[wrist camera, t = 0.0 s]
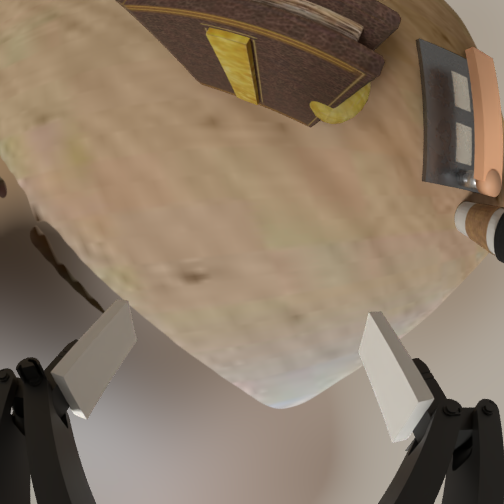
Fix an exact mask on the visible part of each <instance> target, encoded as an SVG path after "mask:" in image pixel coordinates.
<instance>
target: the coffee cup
mask: <svg viewBox="0 0 504 504" xmlns="http://www.w3.org/2000/svg"><path fill="white" fill-rule="evenodd" d="M455 225H456V227H457V229H458V231H460V232H461V233H463V234H464V235H466V236H467V237H469V238H470V239H472V240H473V241H474V242H476V243H477V244H479V245H480V246H481V247H483V248H484V249H486V250H487V251H488V252H490V253H491V254H493V255H496V257H497V259H498V260H499V261H501V262H503V263H504V207H498V206H492V205H486V204H479V203H472V202H463V203H461V204H460V205H459V206H458V208H457V210H456V213H455Z"/></svg>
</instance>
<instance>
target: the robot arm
mask: <svg viewBox="0 0 504 504" xmlns="http://www.w3.org/2000/svg"><path fill="white" fill-rule="evenodd" d="M136 341H137V338H136V334H135V329H134V325H133V321H132V316H131V311H130V306H129V301H127V300H116V301H115V302H114V303H113V304H112V305H111V306H110V308H108V309H107V310H106V311H105V312H104V313H103V315H102V316H101V317H100V318H99V319H98V320H97V321H96V322H95V323H94V324H93V325H92V326H91V327H90V329H88V330H87V332H86V333H85V334H84V335H83V336H82V337H81V338H80V339H79V340H74V341H72V342H71V343H69V344H68V345H67V346H66V347H65V348H64V349H63V350H62V351H61V352H60V353H59V355H58V356H57V357H56V358H55V359H54V360H53V361H52V362H51V363H50V365H49V366H48V367H47V368H46V369H45V370H43V368H42V366H41V365H40V362H39V361H38V360H37V359H36V358H33V357H32V358H26V359H23V360H22V361H20V362H19V363H18V365H17V367H16V370H17V372H18V374H19V376H20V377H21V378H17V377H16V376H15V374H14V372H13V371H12V370H11V369H8V368H7V369H2V370H0V504H30V474H31V478H32V483H33V488H34V492H35V496H36V500H37V504H96V502H95V500H94V497H93V495H92V492H91V490H90V487H89V485H88V482H87V479H86V476H85V473H84V470H83V467H82V464H81V461H80V458H79V454H78V451H77V447H76V444H75V440H74V437H73V432H72V428H71V424H70V419H69V415H68V413H67V410H68V408H69V407H70V408H71V410H72V411H73V413H74V414H75V415H77V416H79V417H82V418H84V419H88V417H89V415H90V414H91V412H92V410H93V409H94V407H95V405H96V404H97V402H98V400H99V399H100V397H101V396H102V394H103V392H104V391H105V389H106V388H107V386H108V384H109V383H110V381H111V379H112V378H113V376H114V375H115V373H116V372H117V370H118V369H119V367H120V365H121V364H122V362H123V361H124V359H125V358H126V356H127V355H128V353H129V352H130V350H131V349H132V347H133V346H134V344H135V342H136ZM358 353H359V355H360V358H361V360H362V363H363V365H364V368H365V370H366V373H367V375H368V378H369V380H370V383H371V385H372V388H373V391H374V393H375V396H376V399H377V401H378V404H379V407H380V409H381V412H382V415H383V418H384V421H385V423H386V426H387V429H388V432H389V435H390V438H391V441H392V443H393V442H398V441H402V440H406V439H408V437H409V436H410V435H411V433H412V432H413V433H414V435H415V439H414V440H413V441H412V443H411V444H410V445H409V447H408V448H407V449H406V451H408V452H407V454H406V456H405V458H404V460H403V462H402V464H401V466H400V468H399V470H398V471H397V473H396V475H395V477H394V479H393V480H392V482H391V484H390V485H389V487H388V489H387V491H386V492H385V494H384V495H383V497H382V498H381V500H380V502H379V503H378V504H434V502H435V499H436V497H437V495H438V493H439V490H440V488H441V485H442V483H443V480H444V478H445V475H446V480H445V487H444V494H443V499H442V504H504V447H503V437H502V428H501V421H500V415H499V409H498V407H497V405H496V404H495V403H494V402H493V401H491V400H489V399H482V400H481V401H479V403H478V404H477V405H476V407H475V408H462V407H461V405H460V404H459V403H458V402H457V401H454V400H452V399H447V398H446V396H445V395H444V393H443V391H442V390H441V388H440V387H439V385H438V383H437V381H436V380H435V379H434V376H433V375H432V373H430V370H429V368H428V367H427V365H426V364H425V363H424V362H422V361H421V360H420V359H419V358H415V359H411V357H410V355H409V354H408V352H407V351H406V349H405V347H404V346H403V345H402V343H401V341H400V339H399V338H398V336H397V335H396V333H395V332H394V330H393V329H392V327H391V326H390V324H389V322H388V321H387V319H386V318H385V316H384V315H383V313H382V312H369V313H368V317H367V321H366V325H365V329H364V333H363V337H362V340H361V344H360V347H359V351H358ZM11 409H12V410H13V414H12V415H11V414H10V413H11Z"/></svg>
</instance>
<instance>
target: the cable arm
mask: <svg viewBox="0 0 504 504" xmlns="http://www.w3.org/2000/svg"><path fill="white" fill-rule="evenodd" d="M465 53H466V58H467V63H468V69H469V75H470V82H471V90H472V99H473V111H474V130H475V160H474V179H476V187H477V190H478V191H479V192H480V193H481V194H484V195H488V196H491V197H496V196H498V195H499V193H500V191H501V185H502V168H503V134H502V117H501V106H500V97H499V90H498V83H497V78H496V72H495V67H494V62H493V59H492V58H491V57H489V56H488V55H486V54H485V53H483V52H481V51H479V50H478V49H476V48H474V47H471V48H469V49H467V50H465Z"/></svg>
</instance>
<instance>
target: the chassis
mask: <svg viewBox="0 0 504 504" xmlns="http://www.w3.org/2000/svg"><path fill="white" fill-rule="evenodd" d="M416 45H417V51H418V58H419V65H420V74H421V84H422V97H423V118H424V152H423V173H422V181H425V182H430V183H435V184H440V185H445V186H450V187H455V188H459V189H464V190H468V191H472V192H477V193H480V192H479V191H478V190H477V187H476V179H474V160H475V130H474V111H473V99H472V90H471V82H470V75H469V69H468V63H467V59H465V58H463V57H461V56H459V55H457V54H454V53H452V52H450V51H448V50H446V49H444V48H441V47H439V46H437V45H434V44H432V43H429V42H427V41H424V40H422V39H417V40H416Z"/></svg>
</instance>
